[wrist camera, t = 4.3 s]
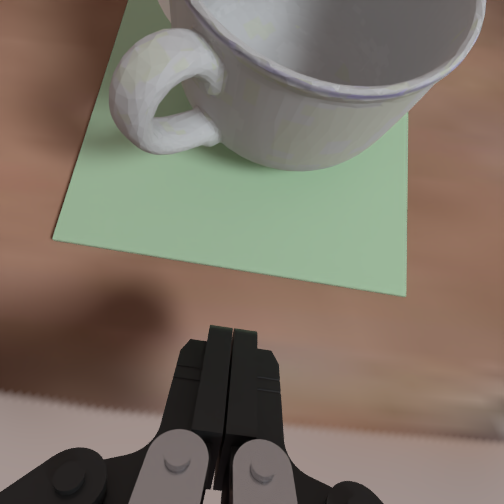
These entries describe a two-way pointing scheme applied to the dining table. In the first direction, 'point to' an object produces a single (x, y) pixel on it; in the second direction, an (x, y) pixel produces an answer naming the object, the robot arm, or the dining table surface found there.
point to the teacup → (289, 75)
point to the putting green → (237, 198)
